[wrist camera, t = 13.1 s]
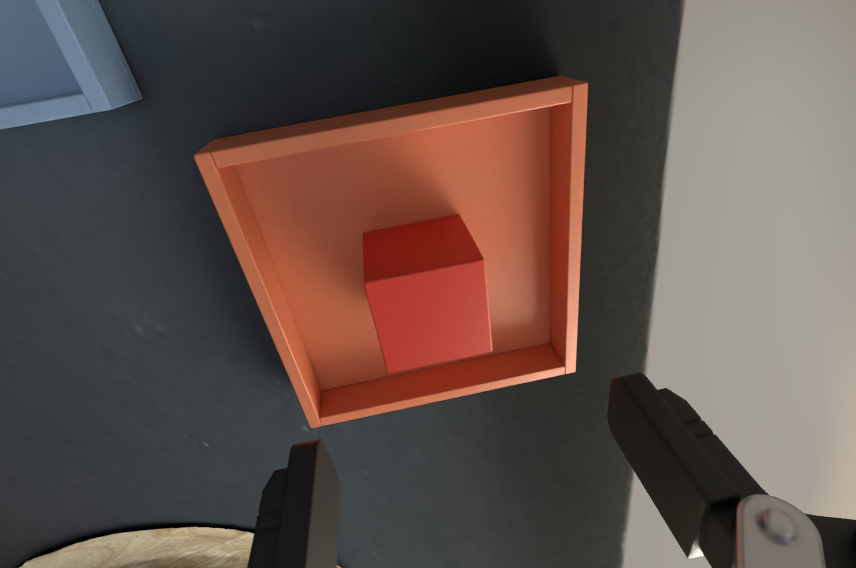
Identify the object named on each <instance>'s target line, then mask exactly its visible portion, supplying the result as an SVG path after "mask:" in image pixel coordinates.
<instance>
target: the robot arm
mask: <svg viewBox="0 0 856 568" xmlns="http://www.w3.org/2000/svg"><path fill="white" fill-rule="evenodd" d="M607 417H608V424H609V427H610V430H611V433H612V435H613V437H614V439H615V440H616V442H617V444H618V445H619V447H620V449H621V450H622V452H623V453H624V455H625V457H626V458H627V460H628V462H629V463H630V465H631V466H632V468H633V470H634V471H635V473H636V475H637V476H638V478H639V479H640V481H641V483H642V484H643V486H644V488H645V489H646V491H647V493H648V494H649V496H650V497H651V499H652V501H653V502H654V504H655V506H656V507H657V509H658V511H659V512H660V514H661V516H662V517H663V519H664V520H665V522H666V524H667V525H668V527H669V529H670V530H671V532H672V534H673V535H674V537H675V538H676V540H677V542H678V543H679V545H680V547H681V548H682V550H683V551H684V553H685V555H686V556H687V558H688V559H690V558H694V557H699V556H703V555H704V556H705V557H706V559H707V560H708V562H709V564H710V565H711V567H712V568H856V520H851V519H842V518H833V517H824V516H815V515H809V514H805V513H803V512H802V511H800V510H799V509H798V508H796V507H795V506H793V505H792V504H790V503H788V502H786V501H784V500H782V499H779V498H777V497H773V496H770V495H768V493H766V492H765V491H764V490H763V489H762V488H761V487H760V486H759V485H758V483H757V482H756V481H755V480H754V479H753V478H752V477H751V475H750V474H749V473H748V472H747V471H746V470H745V468H744V467H743V466H742V465H741V464H740V463H739V461H738V460H737V459H736V458H735V457H734V456H733V454H731V452H730V451H729V450H728V449H727V447H726V446H725V445H724V444H723V443H722V442H721V440H720V439H719V438H718V437H717V436H716V435H714V434H713V432H712V430H711V429H710V428H709V427H708V425H707V424H706V423H705V422H704V421H702V420H701V418H700V416H699V415H698V414H697V413H696V411H695V410H694V409H693V408H692V407H691V406H690V405H689V403H688V402H687V401H686V400H684V399H683V398H681V397H680V396H678V395H676V394H675V393H673V392H672V391H670V390H669V389H667V388H664V389H660V390H657V389H656V388H655V387H654V385H652V383H651V382H650V381H649V379H648V378H647V377H646V376H645V375H644V374H642V373H636V374H631V375H626V376H622V377H617V378H613V379H612V381H611V386H610V395H609V405H608V414H607ZM339 502H340V490H339V481H338V476H337V473H336V470H335V468H334V466H333V463H332V461H331V459H330V456H329V454H328V452H327V449H326V447H325V445H324V443H323V441H322V440H321V439H319V440H314V441H310V442H305V443H300V444H295V445H293V446H292V447H291V450H290V456H289V462H288V468H284V469H280V470H275V471H274V473H273V474H272V476H271V478H270V479H269V481H268V483H267V485H266V486H265V488H264V490H263V493H262V498H261V502H260V507H259V516H258V517H257V522H256V527H255V534H254V537H253V541H252V546H251V551H250V556H249V561H248V566H247V568H337V550H338V526H339Z"/></svg>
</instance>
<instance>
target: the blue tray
mask: <svg viewBox="0 0 856 568" xmlns="http://www.w3.org/2000/svg"><path fill="white" fill-rule="evenodd" d="M141 99H143V96H142V94H141V92H140V90H139V88H138V85H137V83H136V81H135V79H134V77H133V75H132V72H131V70H130V68H129V66H128V64H127V62H126V59H125V57H124V55H123V53H122V51H121V49H120V46H119V44H118V42H117V40H116V38H115V36H114V33H113V31H112V29H111V27H110V25H109V23H108V20H107V18H106V16H105V14H104V12H103V10H102V7H101V5H100V3H99V1H98V0H0V129H6V128H11V127H17V126H22V125H28V124H34V123H39V122H45V121H50V120H56V119H62V118H67V117H73V116H79V115H84V114H90V113H94V112H95V113H96V112H101V111H107V110H112V109H115V108H118V107H121V106H124V105H127V104H130V103H133V102H136V101H138V100H141Z"/></svg>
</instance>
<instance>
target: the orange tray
mask: <svg viewBox="0 0 856 568" xmlns="http://www.w3.org/2000/svg"><path fill="white" fill-rule="evenodd" d="M587 94H588V83H587V82H583V81H579V80H575V79H571V78H567V77H562V76H557V77H551V78H546V79H540V80H535V81H529V82H524V83H518V84H513V85H508V86H502V87H497V88H491V89H486V90H480V91H475V92H469V93H464V94H458V95H453V96H447V97H442V98H437V99H431V100H426V101H420V102H415V103H409V104H404V105H398V106H393V107H387V108H382V109H376V110H371V111H366V112H360V113H355V114H349V115H344V116H338V117H333V118H327V119H322V120H316V121H311V122H305V123H300V124H294V125H289V126H284V127H278V128H273V129H267V130H262V131H256V132H251V133H245V134H240V135H234V136H229V137H223V138H218V139H214V140H212V141H211V142H210V143H209V144H207V145H206V146H205V147H204V148H202V149H201V150H200V151H198V152H197V153H196V154H195V155H194V158H195V161H196V163H197V165H198V168H199V170H200V172H201V175H202V177H203V179H204V182H205V184H206V186H207V189H208V191H209V193H210V195H211V198H212V200H213V202H214V205H215V207H216V209H217V212H218V214H219V216H220V219H221V221H222V223H223V226H224V228H225V230H226V232H227V235H228V237H229V239H230V242H231V244H232V246H233V249H234V251H235V253H236V256H237V258H238V260H239V263H240V265H241V267H242V269H243V272H244V274H245V276H246V279H247V281H248V283H249V286H250V288H251V290H252V293H253V295H254V297H255V300H256V302H257V304H258V306H259V309H260V311H261V313H262V316H263V318H264V320H265V323H266V325H267V327H268V330H269V332H270V334H271V337H272V339H273V341H274V343H275V346H276V348H277V350H278V353H279V355H280V357H281V360H282V362H283V364H284V367H285V369H286V371H287V374H288V376H289V378H290V380H291V383H292V385H293V387H294V390H295V392H296V394H297V397H298V399H299V401H300V404H301V406H302V408H303V411H304V413H305V415H306V417H307V420H308V422H309V424H310V427H311V428H314V427H319V426H322V425H323V426H324V425H328V424H333V423H338V422H343V421H347V420H352V419H357V418H361V417H366V416H371V415H375V414H380V413H385V412H389V411H394V410H399V409H403V408H408V407H413V406H417V405H422V404H427V403H431V402H436V401H441V400H445V399H450V398H455V397H459V396H464V395H469V394H474V393H478V392H483V391H488V390H492V389H497V388H502V387H506V386H511V385H516V384H520V383H525V382H530V381H534V380H539V379H544V378H548V377H553V376H558V375H562V374H567V373H572V372H575V371H576V348H577V325H578V302H579V279H580V256H581V233H582V210H583V187H584V164H585V140H586V117H587ZM457 214H460V216H461V217H462V219H463V221H464V223H465V225H466V227H467V228H468V230H469V232H470V234H471V236H472V238H473V239H474V241H475V243H476V245H477V247H478V248H479V250H480V252H481V254H482V256H483V258H484V259H485V270H486V281H487V293H488V304H489V315H490V326H491V337H492V349H493V350H492V352H488V353H483V354H479V355H474V356H469V357H464V358H460V359H455V360H450V361H445V362H440V363H436V364H431V365H426V366H421V367H417V368H412V369H407V370H402V371H397V372H393V373H388V372H387V370H386V366H385V362H384V359H383V355H382V351H381V347H380V344H379V340H378V336H377V332H376V329H375V325H374V321H373V317H372V314H371V310H370V306H369V302H368V299H367V295H366V291H365V287H364V284H363V242H362V234H363V233H365V232H370V231H375V230H380V229H386V228H391V227H396V226H401V225H406V224H411V223H416V222H422V221H427V220H432V219H437V218H442V217H447V216H452V215H457Z"/></svg>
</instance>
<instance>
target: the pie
mask: <svg viewBox="0 0 856 568" xmlns="http://www.w3.org/2000/svg"><path fill="white" fill-rule="evenodd" d="M253 537H254V533H250V532H242V531H238V530H234V529H224V528H209V527H185V528H165V529H154V530H144V531H134V532H125V533H117V534H111V535H107V536H103V537H98V538H93V539H89V540H87V541H83V542H79V543H75V544H73V545H69V546H67V547H64V548H62V549H60V550H57V551H55V552H52V553H50V554H46V555H43V556H40V557H38V558H34V559H32V560H29V561H27V562H25V563H24V564H23V565H22V566H21V567H19V568H247V566H248V561H249V556H250V551H251V546H252V541H253ZM337 568H341V567H339V566H338V565H337Z"/></svg>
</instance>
